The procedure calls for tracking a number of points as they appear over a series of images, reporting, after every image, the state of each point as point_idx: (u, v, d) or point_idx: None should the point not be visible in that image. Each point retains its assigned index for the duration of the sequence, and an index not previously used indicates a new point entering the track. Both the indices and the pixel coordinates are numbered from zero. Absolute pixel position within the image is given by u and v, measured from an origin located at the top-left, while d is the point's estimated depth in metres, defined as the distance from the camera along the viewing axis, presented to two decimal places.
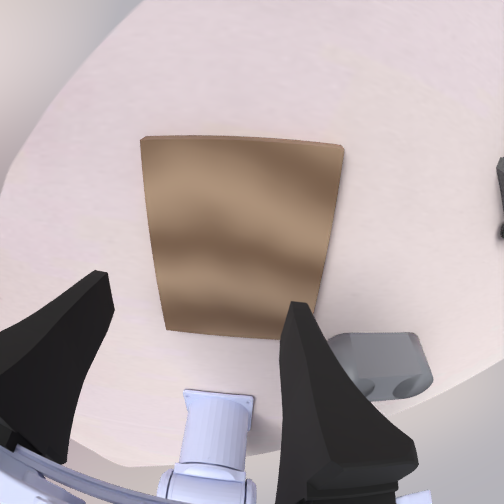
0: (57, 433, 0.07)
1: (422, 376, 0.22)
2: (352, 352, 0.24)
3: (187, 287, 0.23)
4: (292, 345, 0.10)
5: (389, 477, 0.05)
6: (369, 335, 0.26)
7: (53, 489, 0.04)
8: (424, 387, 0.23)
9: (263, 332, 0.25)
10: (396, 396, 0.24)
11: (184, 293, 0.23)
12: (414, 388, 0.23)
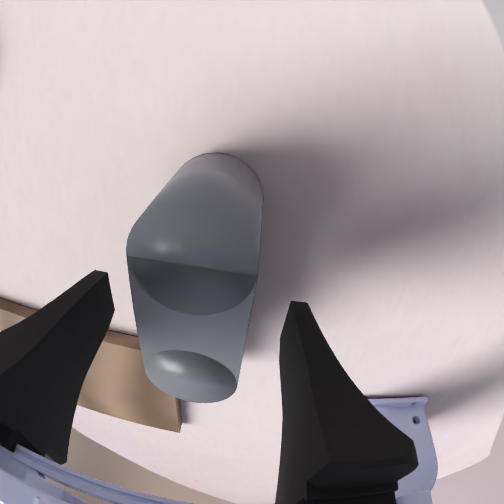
0: (57, 433, 0.07)
1: (139, 250, 0.09)
2: None
3: (122, 409, 0.23)
4: (292, 345, 0.10)
5: (389, 477, 0.05)
6: None
7: (53, 489, 0.04)
8: (202, 223, 0.08)
9: None
10: (230, 302, 0.10)
11: (129, 412, 0.23)
12: (197, 258, 0.09)
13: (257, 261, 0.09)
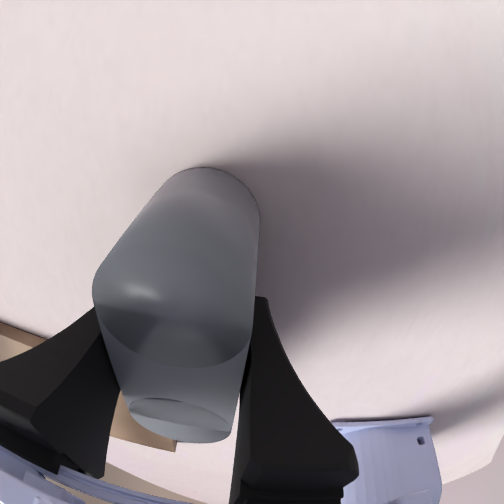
0: (97, 448, 0.07)
1: (106, 298, 0.07)
2: None
3: (115, 429, 0.21)
4: None
5: (327, 483, 0.05)
6: None
7: (53, 489, 0.04)
8: (180, 272, 0.06)
9: None
10: (220, 357, 0.08)
11: (122, 432, 0.21)
12: (176, 310, 0.07)
13: (251, 315, 0.07)
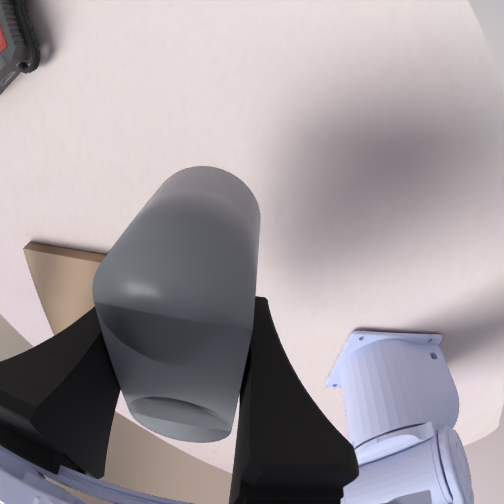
0: (97, 448, 0.07)
1: (107, 296, 0.07)
2: None
3: None
4: None
5: (327, 483, 0.05)
6: None
7: (53, 489, 0.04)
8: (180, 270, 0.06)
9: None
10: (220, 356, 0.08)
11: None
12: (177, 309, 0.07)
13: (252, 313, 0.07)
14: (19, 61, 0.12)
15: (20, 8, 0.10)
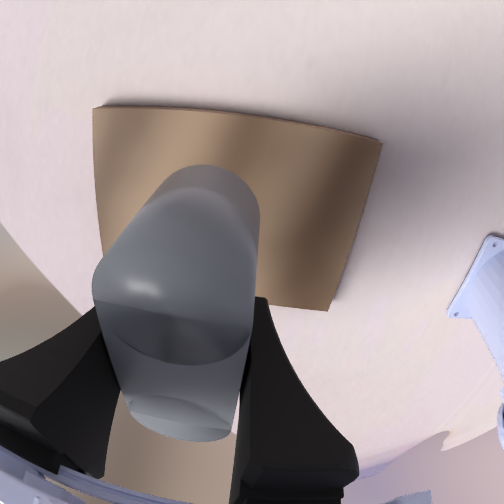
0: (97, 448, 0.07)
1: (106, 295, 0.07)
2: None
3: (262, 275, 0.20)
4: None
5: (327, 483, 0.05)
6: None
7: (53, 489, 0.04)
8: (180, 267, 0.06)
9: (352, 202, 0.17)
10: (220, 354, 0.08)
11: (270, 280, 0.20)
12: (176, 306, 0.07)
13: (252, 311, 0.07)
14: None
15: None
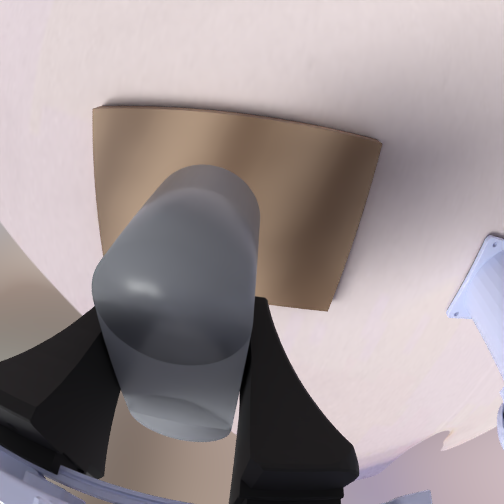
0: (97, 448, 0.07)
1: (106, 295, 0.07)
2: None
3: (262, 275, 0.20)
4: None
5: (327, 483, 0.05)
6: None
7: (53, 489, 0.04)
8: (180, 267, 0.06)
9: (352, 202, 0.17)
10: (220, 354, 0.08)
11: (270, 280, 0.20)
12: (176, 306, 0.07)
13: (252, 311, 0.07)
14: None
15: None
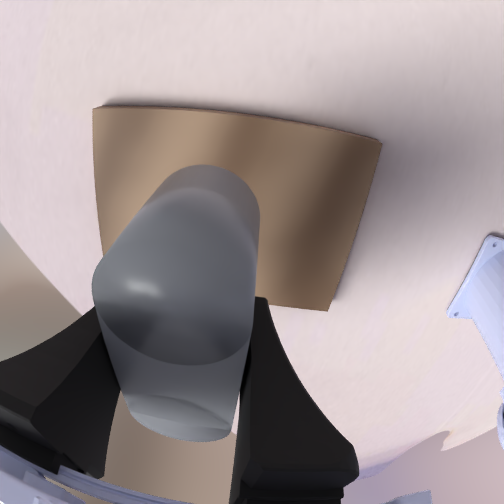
0: (97, 448, 0.07)
1: (106, 295, 0.07)
2: None
3: (262, 275, 0.20)
4: None
5: (327, 483, 0.05)
6: None
7: (53, 489, 0.04)
8: (180, 267, 0.06)
9: (352, 202, 0.17)
10: (220, 354, 0.08)
11: (270, 280, 0.20)
12: (176, 306, 0.07)
13: (251, 311, 0.07)
14: None
15: None
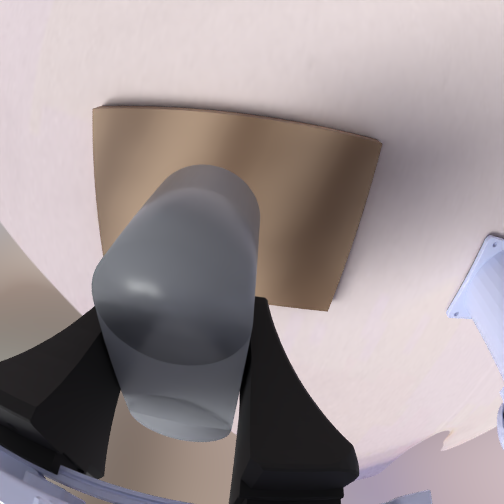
0: (97, 448, 0.07)
1: (106, 295, 0.07)
2: None
3: (262, 275, 0.20)
4: None
5: (327, 483, 0.05)
6: None
7: (53, 489, 0.04)
8: (180, 267, 0.06)
9: (352, 202, 0.17)
10: (220, 354, 0.08)
11: (270, 280, 0.20)
12: (176, 306, 0.07)
13: (251, 311, 0.07)
14: None
15: None
